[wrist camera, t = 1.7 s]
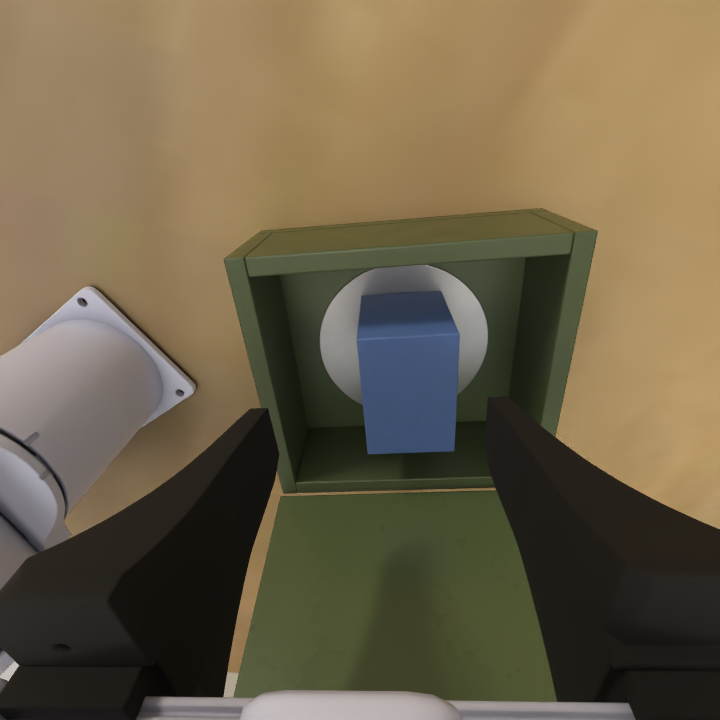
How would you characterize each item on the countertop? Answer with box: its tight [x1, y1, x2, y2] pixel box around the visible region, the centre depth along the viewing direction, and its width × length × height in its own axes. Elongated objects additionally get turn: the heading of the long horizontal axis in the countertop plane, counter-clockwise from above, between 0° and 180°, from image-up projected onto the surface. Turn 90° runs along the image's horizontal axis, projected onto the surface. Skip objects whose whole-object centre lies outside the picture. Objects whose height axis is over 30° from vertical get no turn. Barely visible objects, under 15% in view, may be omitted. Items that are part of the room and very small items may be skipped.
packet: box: [357, 291, 460, 454], centre depth 19 cm, size 6×4×5 cm, turn 5°
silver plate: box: [319, 264, 488, 405], centre depth 21 cm, size 9×9×1 cm
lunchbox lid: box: [233, 490, 557, 702], centre depth 14 cm, size 13×14×1 cm
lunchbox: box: [224, 208, 598, 494], centre depth 19 cm, size 13×14×5 cm
